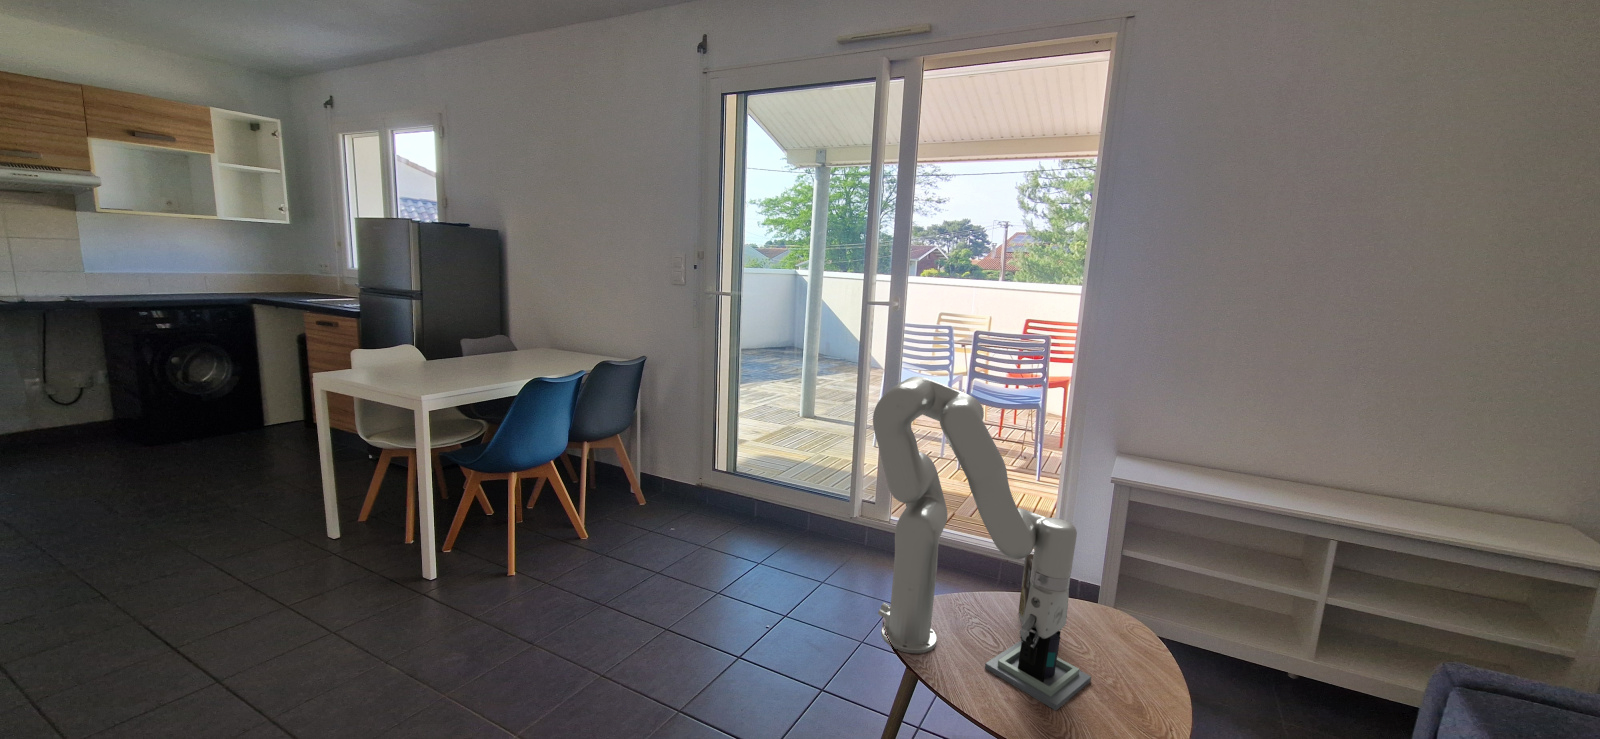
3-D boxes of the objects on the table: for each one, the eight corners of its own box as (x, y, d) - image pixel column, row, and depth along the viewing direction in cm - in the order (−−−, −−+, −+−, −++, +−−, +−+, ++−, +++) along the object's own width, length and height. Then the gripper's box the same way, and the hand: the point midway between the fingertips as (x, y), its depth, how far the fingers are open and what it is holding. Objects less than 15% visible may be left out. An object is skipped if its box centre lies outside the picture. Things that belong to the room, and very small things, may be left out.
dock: (984, 668, 133) (986, 658, 132) (1021, 644, 142) (1022, 634, 142) (1055, 710, 121) (1057, 699, 120) (1090, 681, 130) (1092, 671, 130)
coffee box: (1051, 635, 147) (1060, 572, 144) (1023, 631, 148) (1031, 568, 145) (1044, 615, 155) (1052, 555, 153) (1017, 611, 157) (1025, 551, 154)
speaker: (1041, 686, 125) (1048, 637, 125) (1016, 673, 130) (1022, 625, 129) (1060, 676, 130) (1066, 629, 130) (1034, 663, 135) (1040, 617, 134)
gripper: (1046, 598, 120) (1034, 677, 122) (1086, 574, 131) (1075, 648, 134) (1011, 582, 125) (1001, 658, 128) (1053, 560, 136) (1043, 631, 139)
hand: (1039, 653), depth 131 cm, fingers open, 9 cm apart
